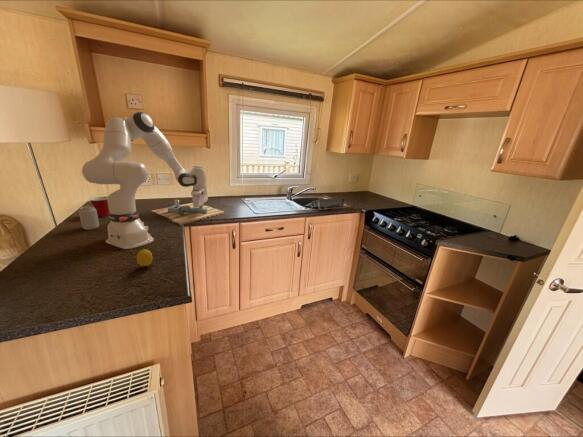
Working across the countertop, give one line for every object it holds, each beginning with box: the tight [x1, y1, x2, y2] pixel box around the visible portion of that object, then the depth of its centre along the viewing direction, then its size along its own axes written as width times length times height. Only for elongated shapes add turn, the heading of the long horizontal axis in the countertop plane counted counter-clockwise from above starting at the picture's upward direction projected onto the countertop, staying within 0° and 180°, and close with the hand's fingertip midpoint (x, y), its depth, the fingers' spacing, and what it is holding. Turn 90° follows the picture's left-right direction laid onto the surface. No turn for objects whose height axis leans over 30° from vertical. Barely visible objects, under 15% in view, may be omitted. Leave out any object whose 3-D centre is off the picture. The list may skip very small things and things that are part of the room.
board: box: [152, 202, 225, 226], centre depth 169 cm, size 34×34×2 cm
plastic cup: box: [88, 195, 109, 218], centre depth 151 cm, size 11×11×12 cm
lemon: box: [136, 248, 153, 267], centre depth 99 cm, size 6×6×8 cm
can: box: [78, 205, 100, 231], centre depth 132 cm, size 8×8×12 cm
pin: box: [173, 198, 181, 208], centre depth 166 cm, size 3×3×8 cm
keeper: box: [178, 206, 190, 215], centre depth 161 cm, size 4×7×5 cm, turn 145°
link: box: [167, 204, 208, 213], centre depth 167 cm, size 24×9×2 cm, turn 90°
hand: (201, 209), depth 170 cm, fingers closed
